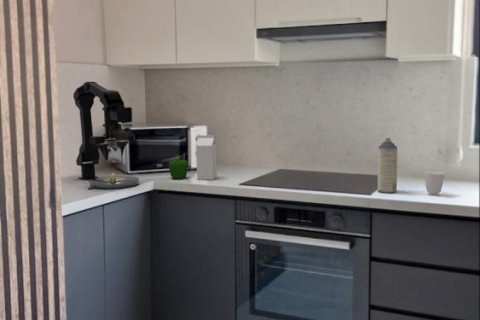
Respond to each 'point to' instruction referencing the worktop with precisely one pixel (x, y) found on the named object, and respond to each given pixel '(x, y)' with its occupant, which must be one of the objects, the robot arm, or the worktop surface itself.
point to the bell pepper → (178, 168)
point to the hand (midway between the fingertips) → (113, 159)
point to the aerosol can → (387, 167)
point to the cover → (113, 154)
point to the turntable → (114, 182)
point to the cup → (434, 182)
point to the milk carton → (206, 157)
